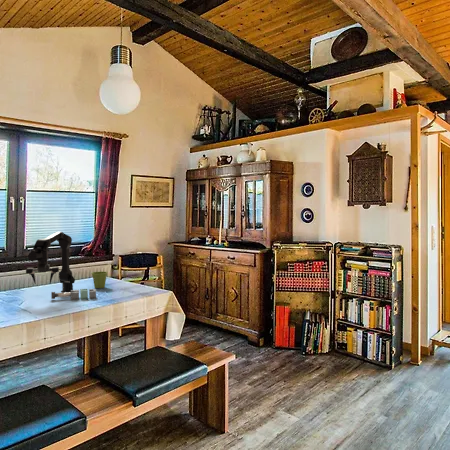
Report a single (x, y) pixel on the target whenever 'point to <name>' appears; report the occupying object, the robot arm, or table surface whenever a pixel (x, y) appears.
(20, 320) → the table surface
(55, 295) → the shaft
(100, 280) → the plant pot
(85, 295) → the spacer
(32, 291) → the table surface
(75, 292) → the cradle rig
